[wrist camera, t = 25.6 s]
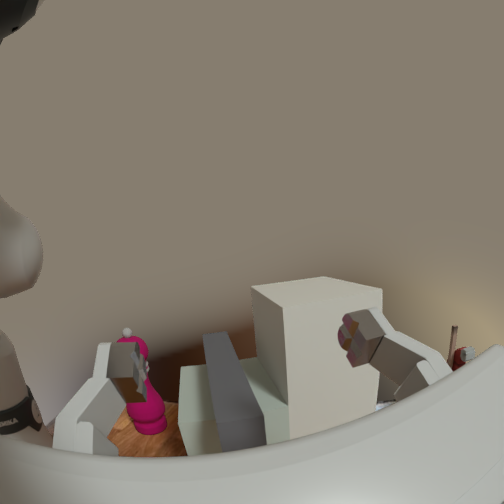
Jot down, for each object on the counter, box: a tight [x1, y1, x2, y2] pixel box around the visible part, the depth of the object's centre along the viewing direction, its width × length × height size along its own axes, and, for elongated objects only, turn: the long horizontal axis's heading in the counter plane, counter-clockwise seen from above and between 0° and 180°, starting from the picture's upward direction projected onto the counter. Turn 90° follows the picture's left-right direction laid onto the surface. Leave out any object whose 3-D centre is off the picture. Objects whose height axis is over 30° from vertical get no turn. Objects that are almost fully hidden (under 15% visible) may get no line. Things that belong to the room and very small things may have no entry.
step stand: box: [178, 276, 382, 456], centre depth 32 cm, size 14×22×26 cm, turn 102°
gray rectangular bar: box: [203, 332, 267, 452], centre depth 28 cm, size 22×4×4 cm, turn 12°
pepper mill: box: [117, 328, 167, 435], centre depth 42 cm, size 7×7×20 cm
